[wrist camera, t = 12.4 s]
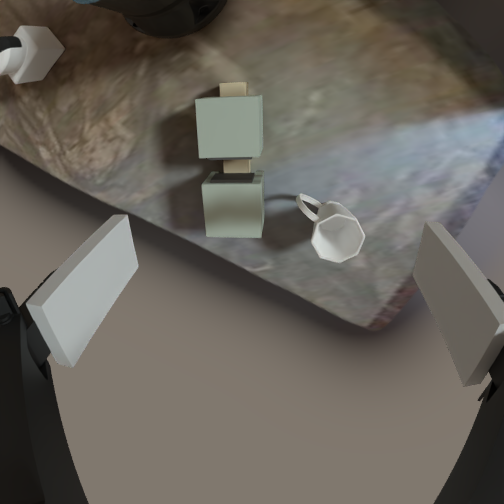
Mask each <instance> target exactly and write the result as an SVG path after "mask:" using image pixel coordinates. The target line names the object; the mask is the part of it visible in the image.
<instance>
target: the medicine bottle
mask: <svg viewBox="0 0 504 504" xmlns="http://www.w3.org/2000/svg"><path fill="white" fill-rule="evenodd" d="M64 50H65V48H64V46H63V45H62V44H61V43H60V42H59V40H58V39H57V38H56V37H55V35H54V34H53V33H52V32H51V31H50V29H49V28H48V27H42V26H20V27H19V28H18V30H17V31H16V33H15V34H14V36H5V37H0V75H6V74H8V75H9V76H10V78H11V79H12V81H13V82H14V83H15V84H21V83H27V82H33V81H40V80H43V79H44V78H45V76H46V75H47V73H48V72H49V70H50V69H51V68H52V66H53V65H54V64H55V62H56V61H57V59H58V58H59V57H60V56H61V54H62V53H63V52H64Z"/></svg>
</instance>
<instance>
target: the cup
mask: <svg viewBox="0 0 504 504" xmlns="http://www.w3.org/2000/svg"><path fill="white" fill-rule="evenodd" d="M302 200H304V201H306V202H309V203H311V204H313V205H314V206H316V207H317V208H319V209H318V212H317V215H316V214H314V213H313V212H311V211H310V210H309V209H308V208H307V206H306V205H305V204H304V203H303V201H302ZM296 203H297V205H298V207H299V208H300V209H301V211H302V212H303V213H304V214H305V215H306V216H307V217H308V218H310V219H311V220H312V221H314V222H315V223H314V226H313V233H312V238H311V243H312V245H313V247H314V248H315V250H316V252H317V253H318V255H319V257H320V258H321V259H325V260H329V261H333V262H337V263H341V262H343V261H345V260H347V259H349V258H351V257H353V256H355V255H357V254H358V253H359V250H360V248H361V246H362V243H363V241H364V238H365V235H364V233H363V231H362V228H361V226H360V224H359V222H358V220H357V219H356V218H355V217H354V216H353V215H352V214H351V213H350V211H349V210H348V209H347V208H345V207H343V206H342V205H341V203H338V202H334V201H331V200H329V201H327V202H325V203H323V204H321V203H320V202H318V201H317V200H315V199H313V198H311V197H309V196H307V195H305V194H301V193H300V194H299V195H298V196H297V198H296Z"/></svg>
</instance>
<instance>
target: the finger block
mask: <svg viewBox="0 0 504 504" xmlns="http://www.w3.org/2000/svg"><path fill="white" fill-rule="evenodd" d="M195 104H196V120H197V135H198V149H199V158H209V160H247V159H252V157H260V155H261V152H262V149H263V113H262V95H250V96H224V97H205V98H200V99H195Z"/></svg>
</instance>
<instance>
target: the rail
mask: <svg viewBox="0 0 504 504" xmlns="http://www.w3.org/2000/svg"><path fill="white" fill-rule="evenodd" d="M224 96H248V82H235V83H220V97H224ZM223 166H224V173H220V172H219V171H212V172H211V173H210V175H209V176H208V177H207V178H206V180H205V181H204V182H203V183H202V196H203V207H204V218H205V228H206V237H240V238H261V236H262V230H263V224H264V171H256V173H255V175H254V173H251V172H250V159H247V160H223Z"/></svg>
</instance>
